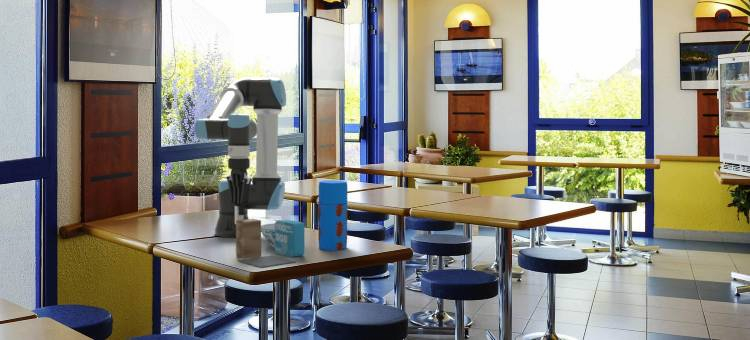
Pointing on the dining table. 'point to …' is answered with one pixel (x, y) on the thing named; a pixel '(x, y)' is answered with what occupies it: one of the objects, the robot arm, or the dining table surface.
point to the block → (248, 238)
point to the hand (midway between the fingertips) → (239, 223)
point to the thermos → (332, 215)
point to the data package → (289, 238)
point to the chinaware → (269, 233)
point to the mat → (266, 261)
